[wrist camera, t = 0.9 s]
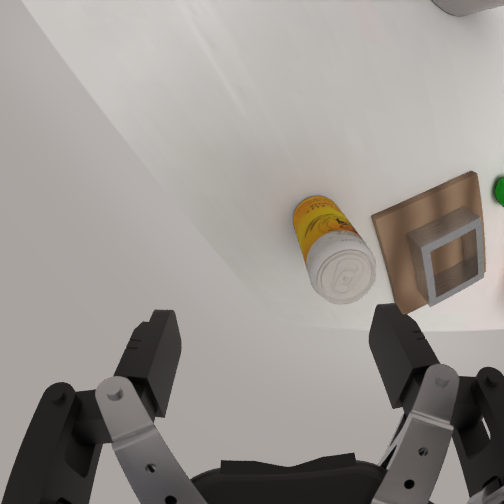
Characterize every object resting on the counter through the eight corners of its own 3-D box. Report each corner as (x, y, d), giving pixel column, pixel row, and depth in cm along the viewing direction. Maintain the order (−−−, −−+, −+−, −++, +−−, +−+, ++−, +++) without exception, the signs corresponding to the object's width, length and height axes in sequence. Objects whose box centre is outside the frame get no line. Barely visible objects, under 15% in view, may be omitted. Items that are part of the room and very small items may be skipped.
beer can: (344, 201, 37) (390, 254, 24) (330, 243, 40) (363, 312, 26) (299, 188, 36) (326, 238, 23) (286, 233, 39) (302, 301, 26)
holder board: (471, 170, 34) (477, 173, 33) (481, 267, 41) (485, 271, 40) (371, 215, 38) (375, 220, 36) (397, 311, 45) (400, 317, 44)
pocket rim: (463, 205, 35) (480, 217, 31) (469, 263, 39) (483, 277, 35) (406, 233, 37) (420, 247, 33) (417, 290, 41) (430, 307, 37)
